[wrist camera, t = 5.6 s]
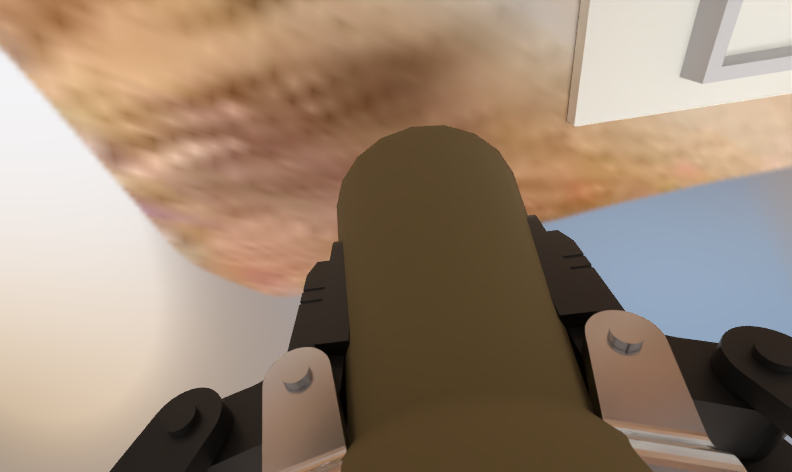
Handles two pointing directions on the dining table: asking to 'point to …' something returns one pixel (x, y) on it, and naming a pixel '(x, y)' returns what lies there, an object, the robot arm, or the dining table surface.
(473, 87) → the dining table surface
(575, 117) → the board
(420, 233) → the olive tall rounded piece
